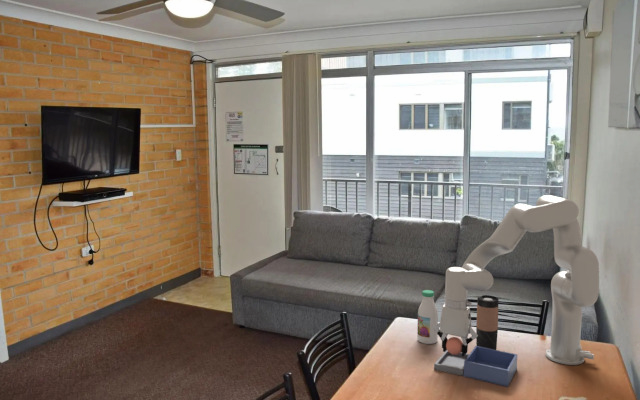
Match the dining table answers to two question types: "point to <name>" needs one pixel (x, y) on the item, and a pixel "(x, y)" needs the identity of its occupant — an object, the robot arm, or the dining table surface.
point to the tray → (451, 363)
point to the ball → (454, 345)
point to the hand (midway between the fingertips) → (454, 352)
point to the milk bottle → (427, 319)
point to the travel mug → (487, 322)
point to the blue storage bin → (490, 366)
